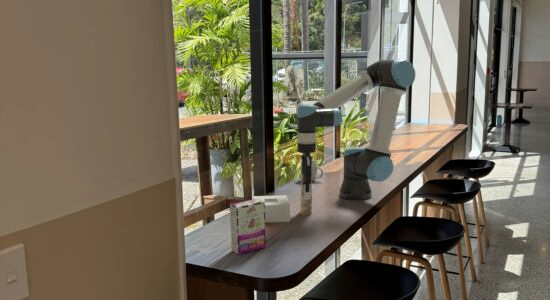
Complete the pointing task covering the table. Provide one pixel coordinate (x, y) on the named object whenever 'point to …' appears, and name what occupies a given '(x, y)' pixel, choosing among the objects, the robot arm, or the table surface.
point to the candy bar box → (247, 226)
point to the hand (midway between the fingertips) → (306, 197)
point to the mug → (314, 170)
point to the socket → (276, 208)
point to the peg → (305, 204)
